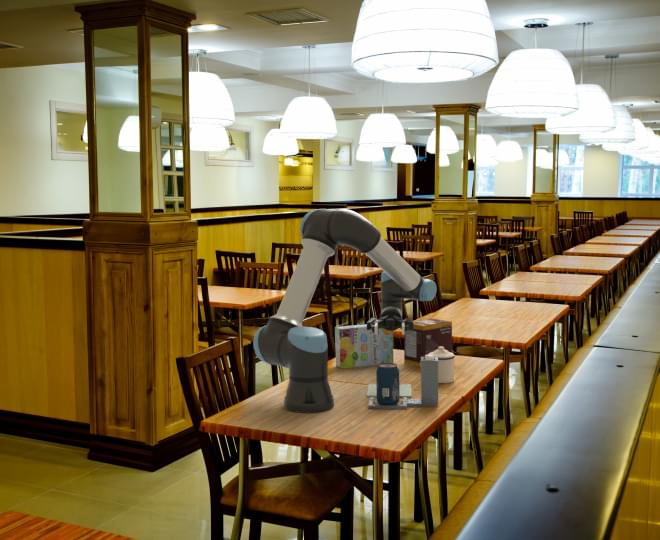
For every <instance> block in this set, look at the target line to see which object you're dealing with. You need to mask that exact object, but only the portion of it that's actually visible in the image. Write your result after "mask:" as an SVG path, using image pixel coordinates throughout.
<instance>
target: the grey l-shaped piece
mask: <svg viewBox="0 0 660 540" xmlns="http://www.w3.org/2000/svg"><path fill="white" fill-rule="evenodd" d="M374 403H375V397H369V401H368V405H367V406H368V409H369V410H408V408H411V407H412V408H414V407H415V408H423V407H427V406H438V407H439V383H438V357H434V360H425V357H421V367H420V398H402V404H397V405H379V404H374Z"/></svg>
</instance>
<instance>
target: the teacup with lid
mask: <svg viewBox="0 0 660 540" xmlns="http://www.w3.org/2000/svg"><path fill="white" fill-rule="evenodd" d="M428 355H434V357H438V384H439V383H445V384H451V383H453V382H454V381H455V357H456V356H455V354H454V353H453V352H452V353H451V352H448V351H447V350H444V347H442V346H441V347H438V350H435V351H434V352H431V353H429V354H428ZM420 365H421V362H420ZM450 382H451V383H450Z"/></svg>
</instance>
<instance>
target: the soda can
mask: <svg viewBox="0 0 660 540" xmlns="http://www.w3.org/2000/svg"><path fill="white" fill-rule="evenodd" d="M375 376H376V384H377V397H376V402H377V403H378V405H399V402H400V399H401V398H400V394H399V384H400V369H399V367H398V364H397V363H382V364H379V365H377V369H376V375H375Z"/></svg>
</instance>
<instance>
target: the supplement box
mask: <svg viewBox="0 0 660 540" xmlns="http://www.w3.org/2000/svg"><path fill="white" fill-rule="evenodd" d="M411 321H412V322H413V323H414V330H410V329H408V331H405V334H404V336H403V346H404V347H403V348H404V349H403V352H404V353H403V355H404V356H403V358H404V364H406V365H411V366H415V367H419V368H421V365H420V362H421V357H425V355H428V354H429V353H431V352H434V351H435V350H438V347H441V346H442V347H444V350H447V351H448V352H451V353H453V321H451V320H446V319H440V318H435V317H431V318H424V319H417V320H411Z"/></svg>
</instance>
